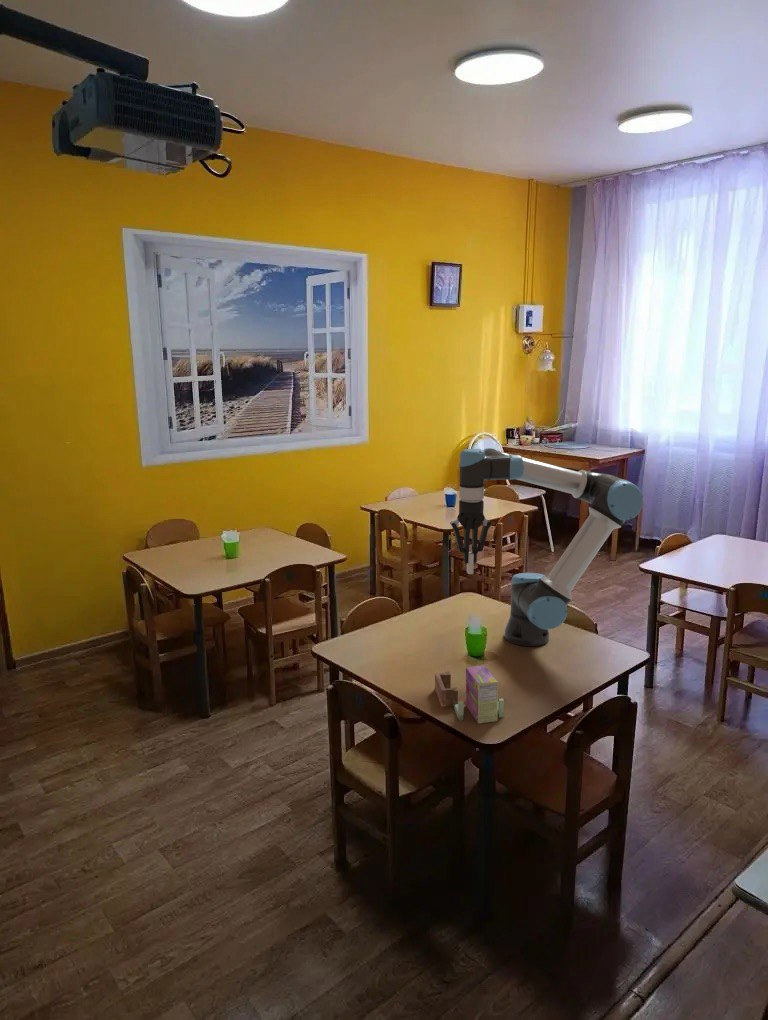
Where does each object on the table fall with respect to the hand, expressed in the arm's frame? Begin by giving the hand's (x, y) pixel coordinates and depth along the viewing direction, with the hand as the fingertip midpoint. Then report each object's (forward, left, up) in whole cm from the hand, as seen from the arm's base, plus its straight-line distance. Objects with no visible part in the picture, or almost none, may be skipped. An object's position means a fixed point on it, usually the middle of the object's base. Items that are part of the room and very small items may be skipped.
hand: (469, 572), depth 217 cm
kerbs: (+5, +34, -29) cm, 45 cm away
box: (+4, +34, -30) cm, 45 cm away
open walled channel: (+7, +24, -29) cm, 39 cm away
